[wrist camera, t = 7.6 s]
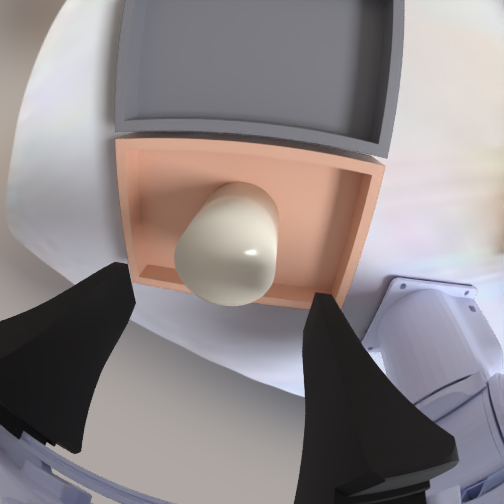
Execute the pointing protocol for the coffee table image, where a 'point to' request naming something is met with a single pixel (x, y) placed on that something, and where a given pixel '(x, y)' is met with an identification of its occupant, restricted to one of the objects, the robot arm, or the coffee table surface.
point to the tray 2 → (264, 176)
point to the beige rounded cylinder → (230, 246)
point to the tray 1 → (263, 69)
